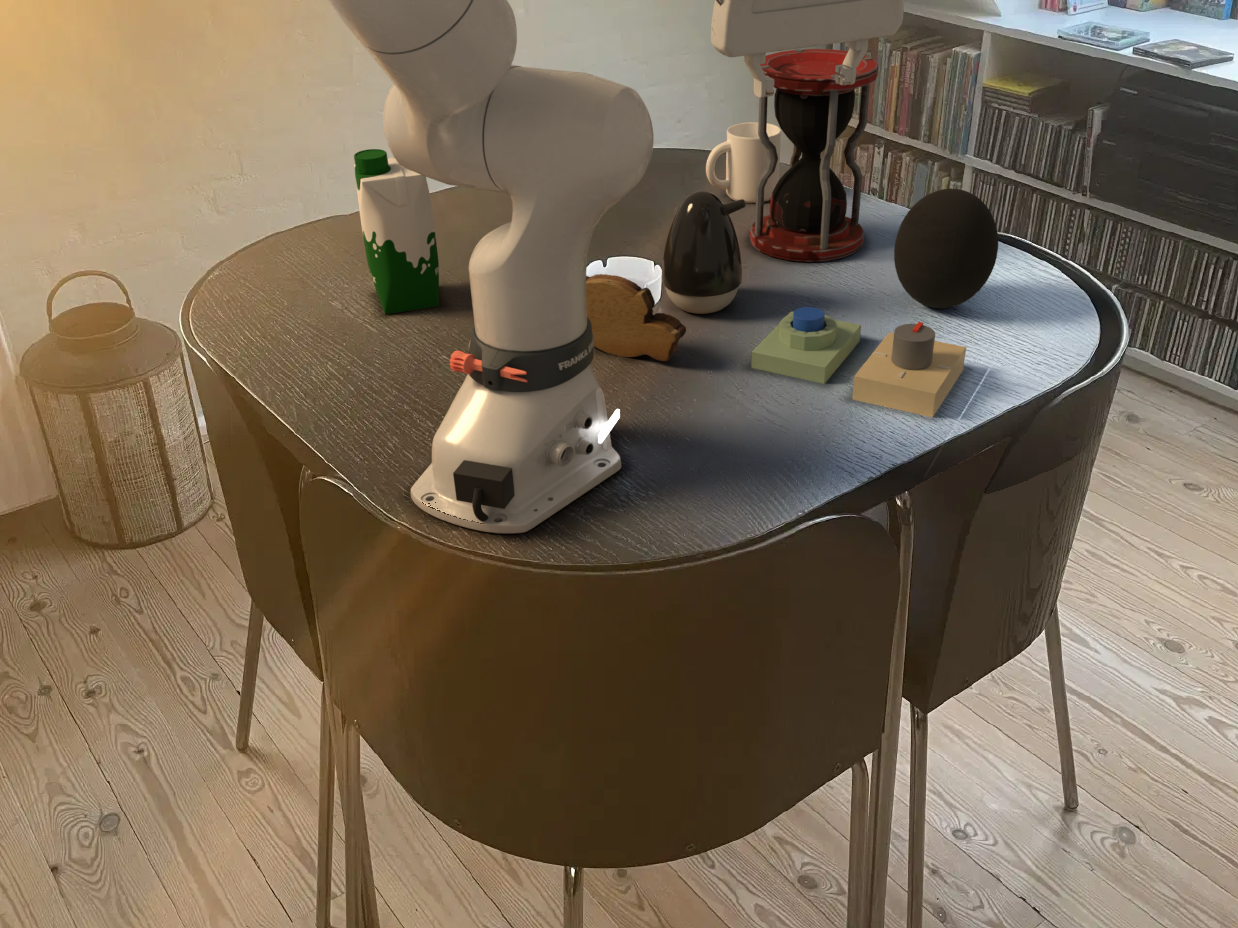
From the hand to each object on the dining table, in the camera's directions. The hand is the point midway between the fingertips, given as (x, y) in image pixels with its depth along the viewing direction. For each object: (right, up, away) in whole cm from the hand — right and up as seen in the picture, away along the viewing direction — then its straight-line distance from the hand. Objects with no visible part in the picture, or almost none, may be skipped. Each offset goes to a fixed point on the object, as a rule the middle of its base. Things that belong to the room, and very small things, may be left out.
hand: (804, 90), depth 121 cm
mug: (0, +3, +63) cm, 64 cm away
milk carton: (-47, -17, +34) cm, 61 cm away
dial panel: (+13, -30, +11) cm, 34 cm away
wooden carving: (-19, -26, +20) cm, 37 cm away
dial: (+13, -27, +9) cm, 32 cm away
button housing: (+3, -26, +18) cm, 31 cm away
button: (+3, -23, +16) cm, 28 cm away
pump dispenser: (-8, -19, +30) cm, 36 cm away
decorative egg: (+21, -19, +28) cm, 40 cm away
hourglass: (+8, -7, +47) cm, 48 cm away
